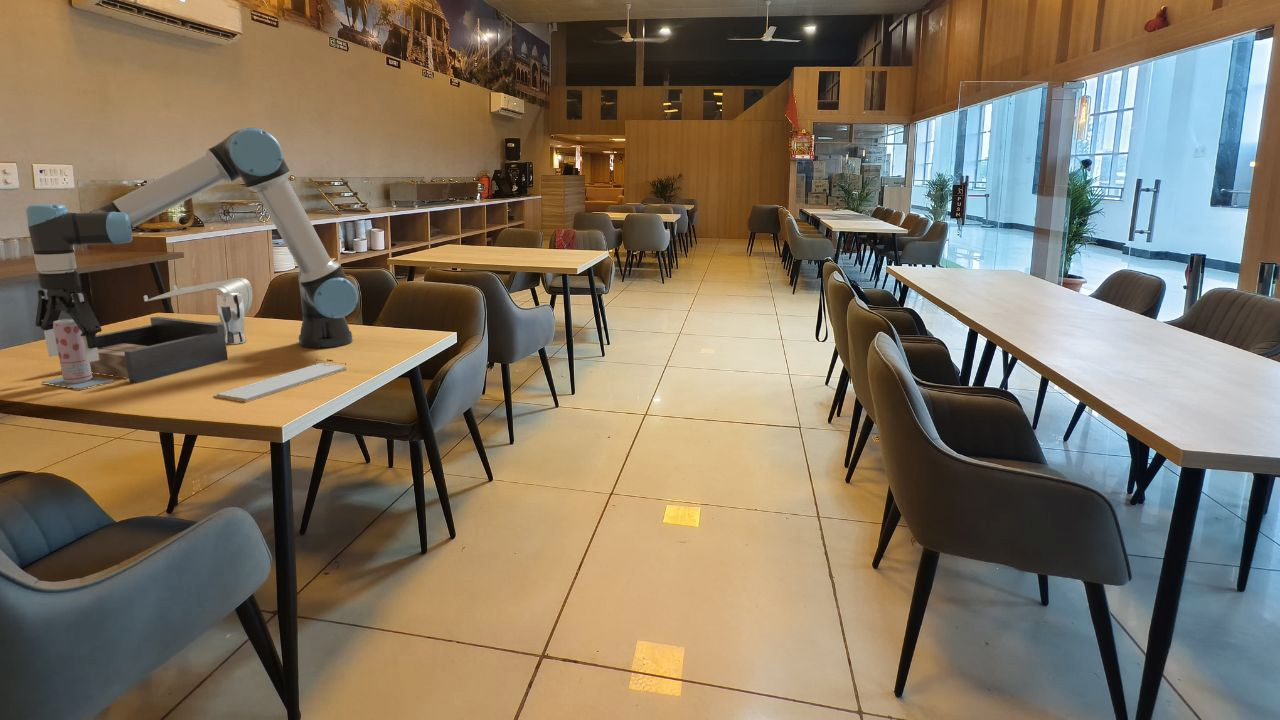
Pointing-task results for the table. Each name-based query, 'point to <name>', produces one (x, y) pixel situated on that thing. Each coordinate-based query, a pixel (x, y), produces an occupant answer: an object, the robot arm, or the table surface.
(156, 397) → the table surface
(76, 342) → the beverage can
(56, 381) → the mat
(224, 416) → the table surface
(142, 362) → the tray
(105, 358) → the offcut slab
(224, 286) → the portable electronic device stand
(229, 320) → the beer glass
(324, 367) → the baseboard molding
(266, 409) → the table surface
